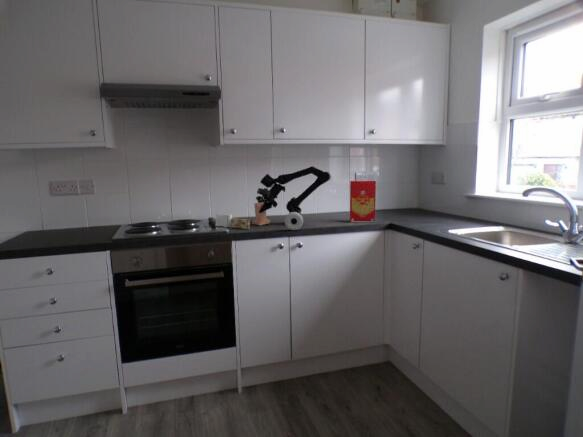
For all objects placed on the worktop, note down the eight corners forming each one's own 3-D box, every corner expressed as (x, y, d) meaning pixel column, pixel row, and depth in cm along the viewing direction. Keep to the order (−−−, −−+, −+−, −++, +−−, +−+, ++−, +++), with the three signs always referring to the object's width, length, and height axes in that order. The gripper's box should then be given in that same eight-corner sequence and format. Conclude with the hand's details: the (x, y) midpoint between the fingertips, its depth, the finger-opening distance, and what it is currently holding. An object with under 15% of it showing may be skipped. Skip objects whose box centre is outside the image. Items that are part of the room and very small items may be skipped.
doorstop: (263, 220, 224) (261, 201, 221) (270, 222, 218) (268, 202, 215) (253, 223, 220) (250, 203, 217) (259, 225, 214) (257, 205, 211)
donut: (303, 229, 202) (303, 211, 200) (303, 230, 198) (303, 212, 197) (284, 229, 201) (284, 211, 200) (284, 230, 198) (284, 212, 197)
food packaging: (350, 222, 226) (350, 181, 222) (349, 221, 231) (350, 180, 227) (374, 222, 225) (375, 181, 221) (373, 221, 230) (374, 180, 226)
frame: (216, 226, 213) (215, 214, 212) (218, 226, 215) (218, 214, 214) (231, 227, 210) (230, 215, 209) (233, 226, 212) (232, 214, 211)
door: (230, 227, 209) (230, 218, 208) (233, 226, 211) (232, 218, 210) (247, 229, 202) (246, 220, 202) (249, 228, 204) (249, 219, 203)
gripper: (258, 182, 225) (241, 201, 221) (272, 183, 209) (254, 204, 205) (270, 194, 230) (254, 213, 226) (284, 196, 214) (267, 217, 210)
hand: (257, 212), depth 216 cm, fingers closed on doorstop, 5 cm apart
